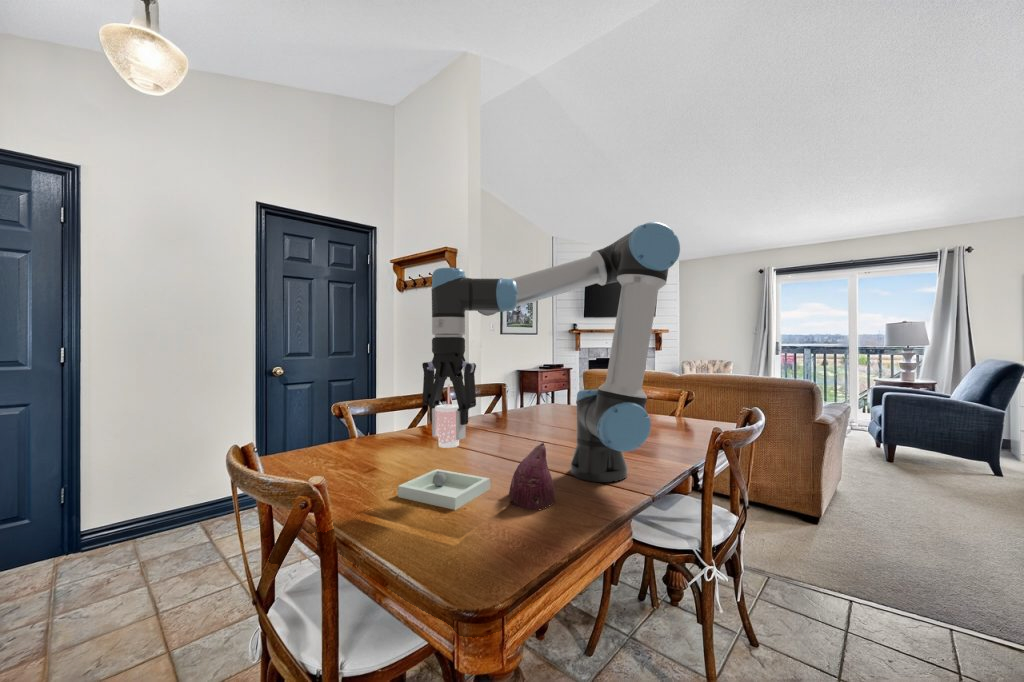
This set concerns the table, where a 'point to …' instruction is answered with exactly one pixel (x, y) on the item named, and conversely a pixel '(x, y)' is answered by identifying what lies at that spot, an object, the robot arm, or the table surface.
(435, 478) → the ball
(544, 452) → the vegetable
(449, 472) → the tray
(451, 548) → the table surface
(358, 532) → the table surface
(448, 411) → the beverage cup
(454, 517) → the table surface
